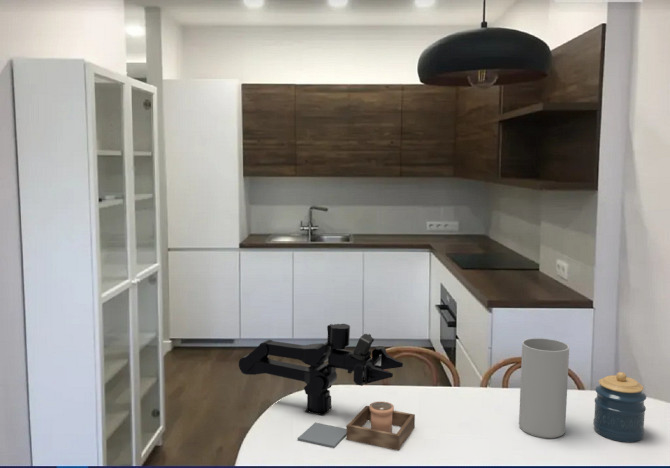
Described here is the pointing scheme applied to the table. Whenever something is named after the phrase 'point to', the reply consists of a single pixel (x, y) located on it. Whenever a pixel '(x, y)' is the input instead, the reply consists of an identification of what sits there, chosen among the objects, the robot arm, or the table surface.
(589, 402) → the table surface
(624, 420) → the canister
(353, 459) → the table surface
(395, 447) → the brown wooden square frame
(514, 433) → the table surface
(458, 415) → the table surface
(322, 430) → the slate mat
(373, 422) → the terracotta pot
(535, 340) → the cylinder vase
